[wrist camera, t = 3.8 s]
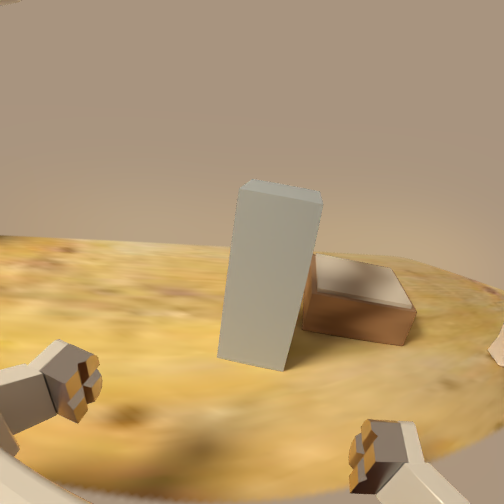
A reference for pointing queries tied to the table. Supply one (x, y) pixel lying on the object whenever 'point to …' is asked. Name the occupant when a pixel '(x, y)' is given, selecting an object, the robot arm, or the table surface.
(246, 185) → the grey tall block
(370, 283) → the plinth
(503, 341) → the perfume bottle
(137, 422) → the table surface
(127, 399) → the table surface
